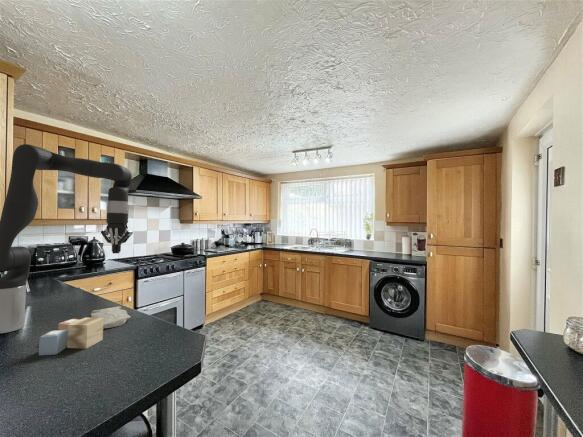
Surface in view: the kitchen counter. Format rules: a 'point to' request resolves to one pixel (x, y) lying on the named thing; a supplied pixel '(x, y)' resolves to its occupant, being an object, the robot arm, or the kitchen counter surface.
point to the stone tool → (111, 316)
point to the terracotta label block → (66, 324)
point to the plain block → (85, 333)
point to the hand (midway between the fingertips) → (116, 253)
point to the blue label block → (53, 342)
